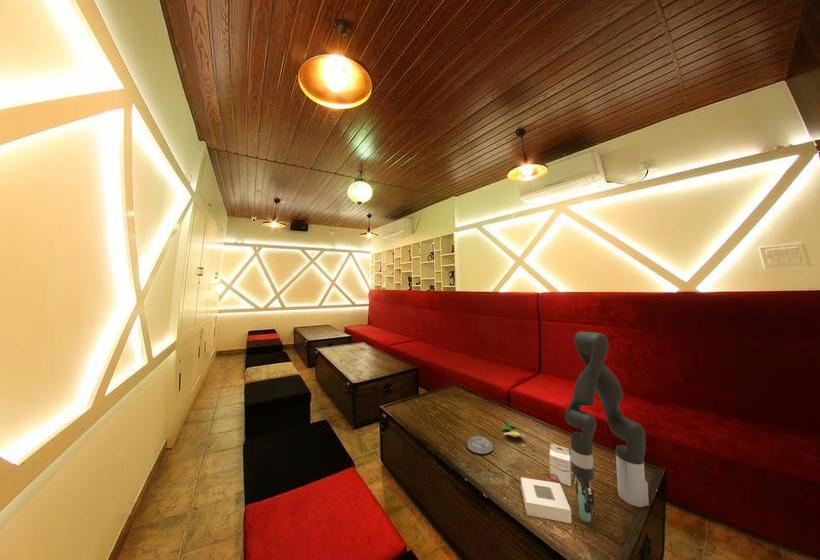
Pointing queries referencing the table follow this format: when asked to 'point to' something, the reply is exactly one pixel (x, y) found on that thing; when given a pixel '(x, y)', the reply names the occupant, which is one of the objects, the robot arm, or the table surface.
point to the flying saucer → (479, 445)
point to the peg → (582, 507)
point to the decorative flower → (512, 433)
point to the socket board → (545, 500)
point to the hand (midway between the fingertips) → (583, 503)
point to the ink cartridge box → (560, 464)
